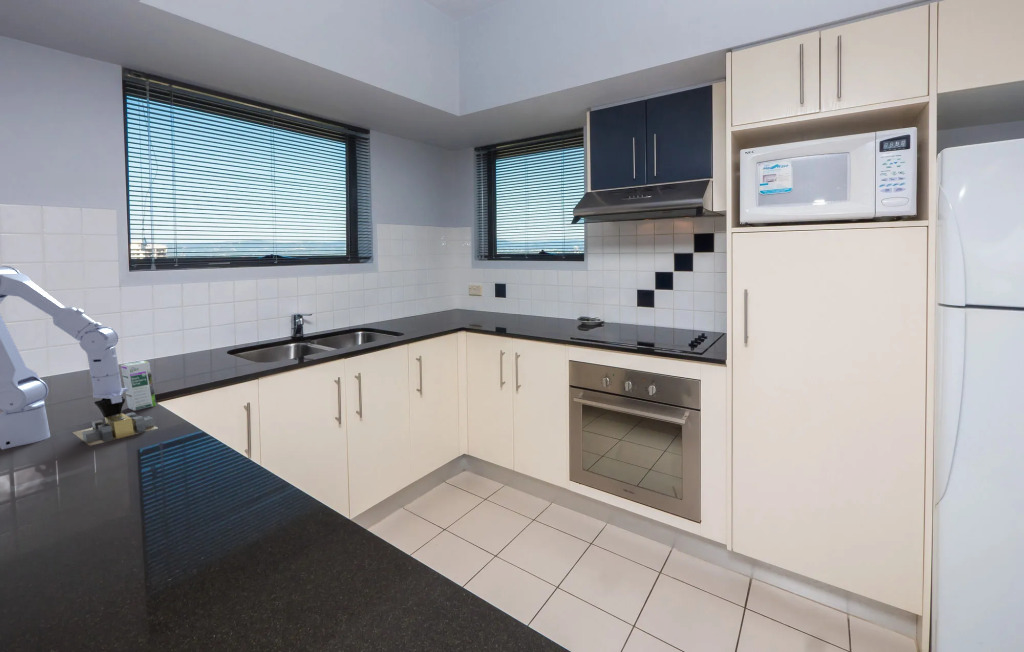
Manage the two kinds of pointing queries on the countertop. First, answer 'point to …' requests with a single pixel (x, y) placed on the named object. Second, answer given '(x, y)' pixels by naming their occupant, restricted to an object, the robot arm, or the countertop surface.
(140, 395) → the syrup box
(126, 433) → the link
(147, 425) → the chain ends
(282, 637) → the countertop surface
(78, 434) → the board
